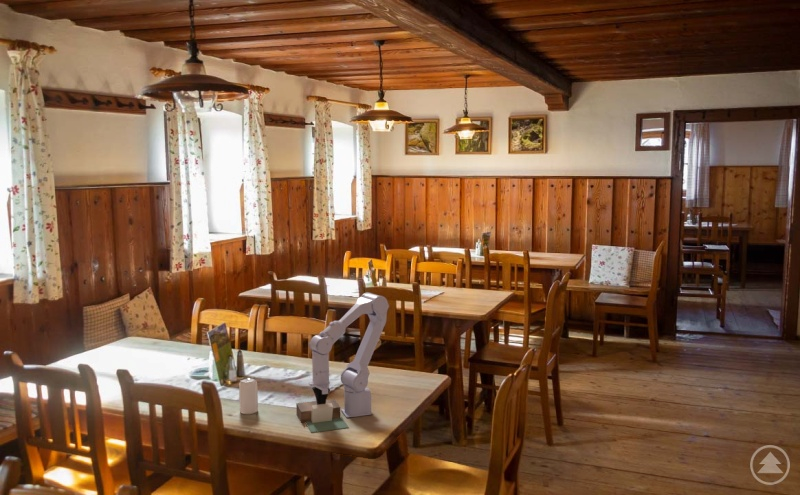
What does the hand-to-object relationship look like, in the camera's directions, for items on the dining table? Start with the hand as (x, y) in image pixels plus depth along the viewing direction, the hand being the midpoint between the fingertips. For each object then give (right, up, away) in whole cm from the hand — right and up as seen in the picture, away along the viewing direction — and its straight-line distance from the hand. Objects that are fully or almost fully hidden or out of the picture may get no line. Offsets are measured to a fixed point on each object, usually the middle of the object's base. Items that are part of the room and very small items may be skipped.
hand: (321, 407), depth 234 cm
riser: (-2, -4, +6) cm, 7 cm away
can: (-27, -4, +10) cm, 30 cm away
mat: (+2, -5, -3) cm, 7 cm away
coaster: (0, -1, 0) cm, 1 cm away
